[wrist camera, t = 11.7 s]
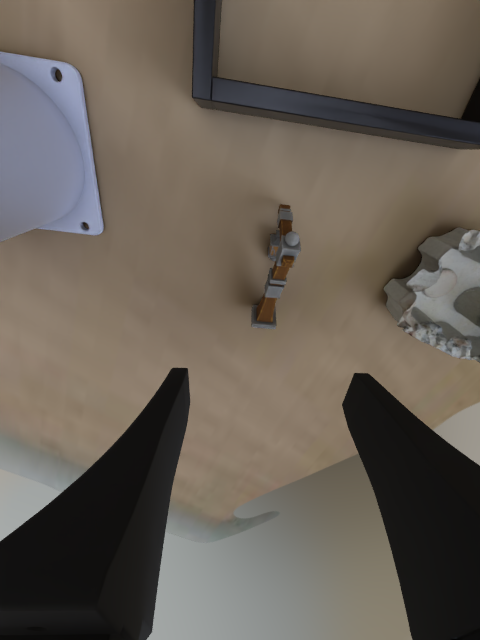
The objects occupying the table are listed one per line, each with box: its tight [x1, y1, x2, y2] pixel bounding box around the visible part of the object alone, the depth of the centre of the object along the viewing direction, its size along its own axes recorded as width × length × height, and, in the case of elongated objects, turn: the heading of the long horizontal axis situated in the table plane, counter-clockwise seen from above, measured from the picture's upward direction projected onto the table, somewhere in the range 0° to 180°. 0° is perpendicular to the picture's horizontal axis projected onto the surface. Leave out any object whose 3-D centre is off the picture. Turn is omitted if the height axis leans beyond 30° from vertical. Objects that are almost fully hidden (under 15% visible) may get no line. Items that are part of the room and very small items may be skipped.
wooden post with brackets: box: [251, 204, 301, 329], centre depth 17 cm, size 2×8×4 cm, turn 173°
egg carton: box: [384, 227, 480, 363], centre depth 18 cm, size 11×8×4 cm
